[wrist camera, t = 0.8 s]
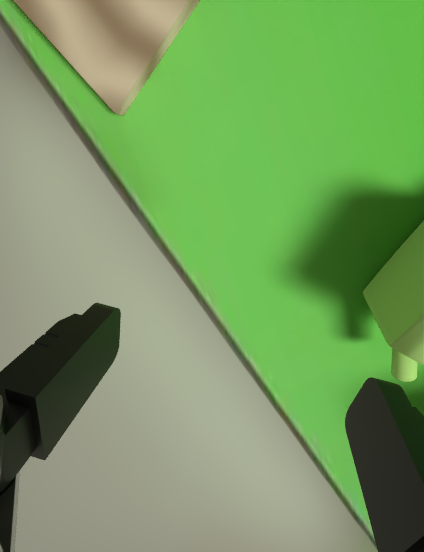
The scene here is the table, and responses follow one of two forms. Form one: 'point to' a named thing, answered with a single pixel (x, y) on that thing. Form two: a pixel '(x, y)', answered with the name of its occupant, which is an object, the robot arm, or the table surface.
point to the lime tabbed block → (401, 305)
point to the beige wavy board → (111, 39)
